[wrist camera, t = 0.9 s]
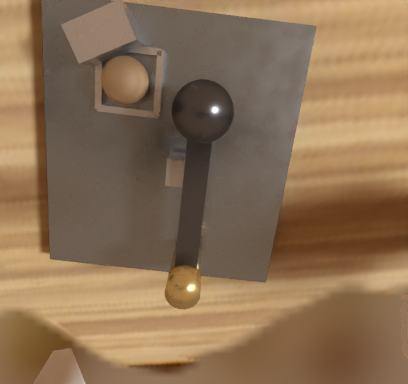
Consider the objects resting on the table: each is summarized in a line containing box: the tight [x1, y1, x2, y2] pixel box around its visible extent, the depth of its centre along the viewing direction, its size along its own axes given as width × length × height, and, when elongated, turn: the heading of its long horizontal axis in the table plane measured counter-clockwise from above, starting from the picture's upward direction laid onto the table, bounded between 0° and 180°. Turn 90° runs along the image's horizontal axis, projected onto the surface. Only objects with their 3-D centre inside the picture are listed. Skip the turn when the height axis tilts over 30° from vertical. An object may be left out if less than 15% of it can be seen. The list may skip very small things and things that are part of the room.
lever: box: [165, 79, 234, 309], centre depth 29 cm, size 5×19×7 cm, turn 173°
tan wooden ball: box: [101, 56, 149, 105], centre depth 28 cm, size 4×4×4 cm
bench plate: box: [41, 0, 316, 282], centre depth 31 cm, size 24×26×6 cm
